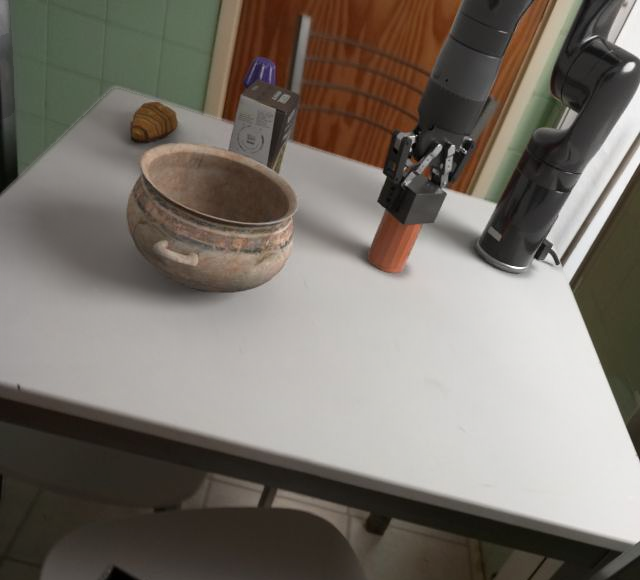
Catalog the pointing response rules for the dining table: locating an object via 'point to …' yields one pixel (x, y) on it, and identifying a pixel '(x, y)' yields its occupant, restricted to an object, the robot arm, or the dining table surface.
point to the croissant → (152, 122)
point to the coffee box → (264, 123)
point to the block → (417, 201)
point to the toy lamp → (260, 72)
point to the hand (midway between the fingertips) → (407, 208)
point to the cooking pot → (211, 217)
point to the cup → (392, 244)
